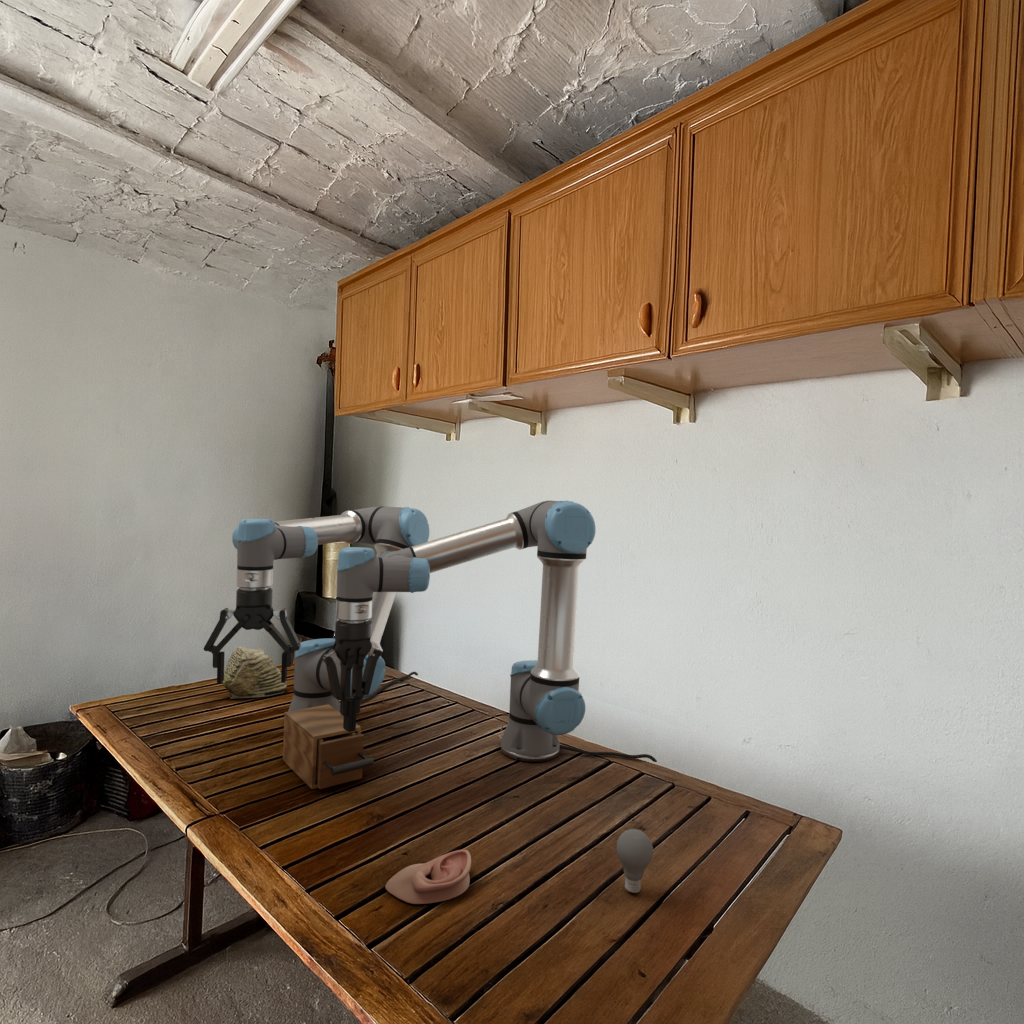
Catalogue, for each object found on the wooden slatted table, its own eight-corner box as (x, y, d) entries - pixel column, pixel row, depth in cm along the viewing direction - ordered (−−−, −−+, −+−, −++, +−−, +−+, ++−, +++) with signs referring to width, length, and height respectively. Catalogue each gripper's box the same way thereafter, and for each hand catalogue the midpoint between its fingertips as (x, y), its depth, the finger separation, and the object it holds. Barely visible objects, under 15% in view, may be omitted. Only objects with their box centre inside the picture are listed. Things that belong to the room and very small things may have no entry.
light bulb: (610, 879, 108) (613, 822, 108) (644, 879, 109) (647, 822, 109) (619, 902, 102) (622, 840, 102) (655, 901, 103) (658, 840, 103)
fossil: (218, 695, 195) (220, 647, 195) (278, 685, 208) (279, 640, 207) (228, 703, 189) (230, 653, 188) (289, 692, 201) (290, 645, 201)
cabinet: (359, 777, 144) (361, 726, 144) (311, 789, 137) (313, 736, 137) (326, 750, 158) (328, 704, 158) (282, 760, 151) (284, 712, 151)
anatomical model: (378, 873, 101) (404, 836, 112) (377, 898, 101) (403, 858, 112) (458, 887, 98) (477, 848, 109) (457, 912, 98) (476, 870, 109)
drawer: (374, 788, 137) (376, 743, 136) (330, 800, 130) (332, 753, 130) (331, 752, 155) (332, 712, 154) (291, 761, 148) (292, 720, 148)
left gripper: (189, 589, 136) (187, 687, 137) (310, 590, 140) (307, 685, 141) (200, 584, 144) (198, 677, 144) (314, 585, 148) (312, 675, 148)
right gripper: (331, 625, 128) (326, 741, 129) (389, 620, 136) (385, 728, 137) (316, 619, 134) (312, 729, 134) (373, 614, 142) (369, 718, 143)
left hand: (252, 681), depth 143 cm, fingers open, 13 cm apart
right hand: (349, 729), depth 136 cm, fingers closed
